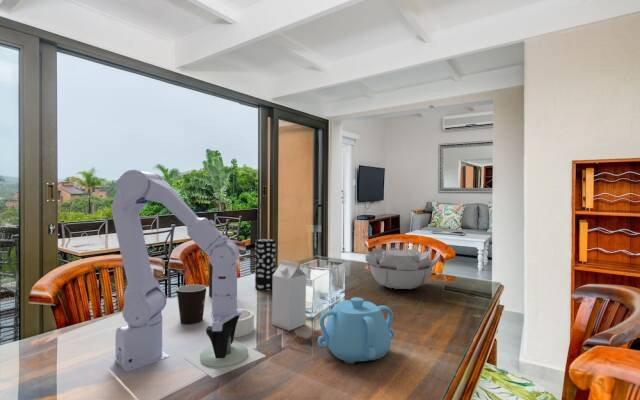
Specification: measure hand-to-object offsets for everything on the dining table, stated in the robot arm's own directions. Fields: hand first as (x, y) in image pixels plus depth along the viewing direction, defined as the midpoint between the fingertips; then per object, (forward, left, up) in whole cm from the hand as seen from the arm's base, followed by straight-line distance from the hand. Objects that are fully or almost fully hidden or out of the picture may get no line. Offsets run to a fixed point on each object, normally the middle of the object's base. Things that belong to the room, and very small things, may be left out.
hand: (224, 350), depth 83 cm
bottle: (+27, +48, -2) cm, 55 cm away
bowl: (+11, +12, -2) cm, 16 cm away
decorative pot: (+24, -21, -2) cm, 32 cm away
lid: (0, 0, -2) cm, 2 cm away
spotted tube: (+46, +43, -2) cm, 63 cm away
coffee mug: (+8, +30, -2) cm, 31 cm away
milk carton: (+25, +5, -2) cm, 26 cm away
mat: (0, 0, -2) cm, 2 cm away
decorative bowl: (+86, +4, -2) cm, 86 cm away
